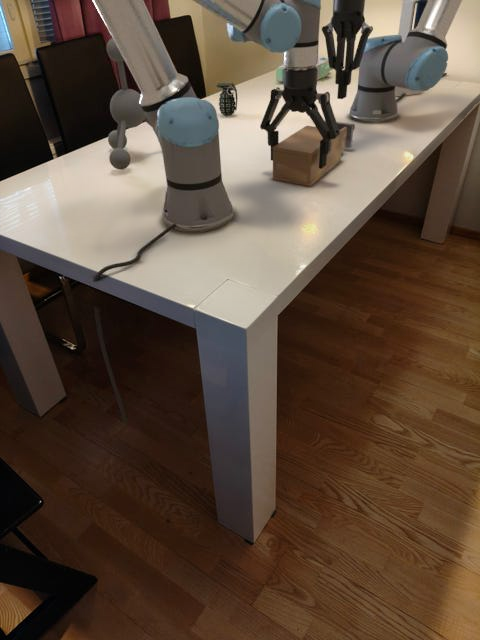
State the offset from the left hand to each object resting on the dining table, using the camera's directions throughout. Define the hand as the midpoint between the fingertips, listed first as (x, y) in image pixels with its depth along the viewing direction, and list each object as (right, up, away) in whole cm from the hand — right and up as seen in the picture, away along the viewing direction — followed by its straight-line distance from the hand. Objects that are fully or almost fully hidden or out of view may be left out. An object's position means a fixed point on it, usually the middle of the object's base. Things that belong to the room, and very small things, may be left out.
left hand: (298, 162), depth 120 cm
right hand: (+13, +21, +11) cm, 28 cm away
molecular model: (-42, +9, +21) cm, 48 cm away
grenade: (-18, +32, +49) cm, 62 cm away
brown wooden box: (+3, 0, +6) cm, 7 cm away
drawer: (+10, +8, +14) cm, 19 cm away
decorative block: (+13, +65, +88) cm, 110 cm away
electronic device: (+46, +46, +61) cm, 89 cm away
